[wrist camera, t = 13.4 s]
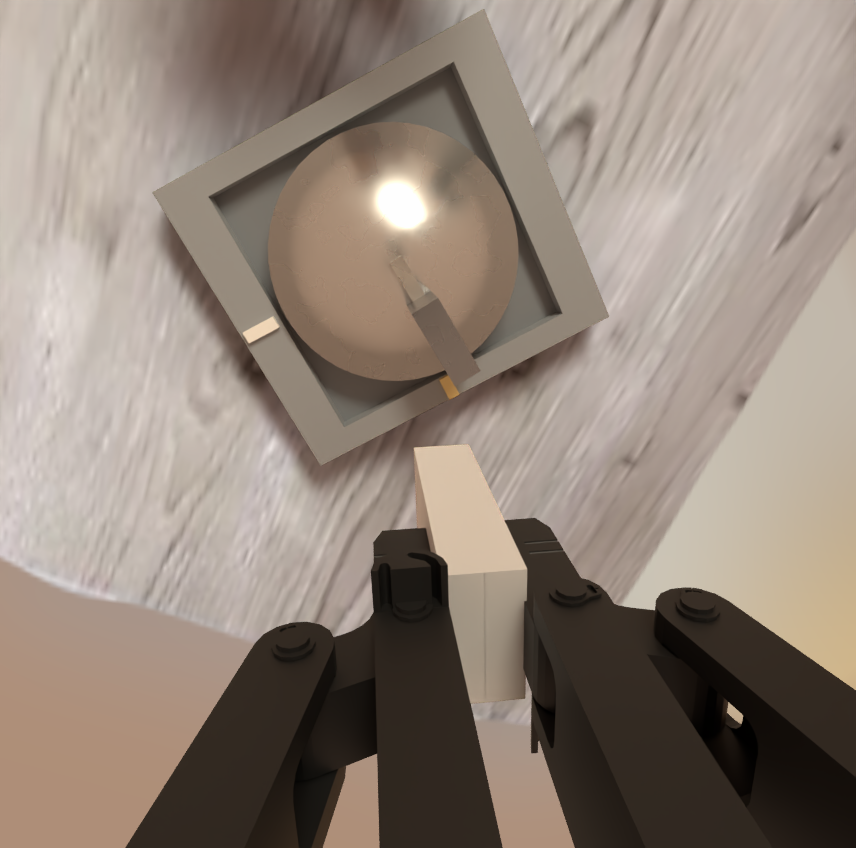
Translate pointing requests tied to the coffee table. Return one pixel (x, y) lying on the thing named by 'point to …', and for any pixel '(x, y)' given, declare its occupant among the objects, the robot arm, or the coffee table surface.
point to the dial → (393, 252)
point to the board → (312, 126)
